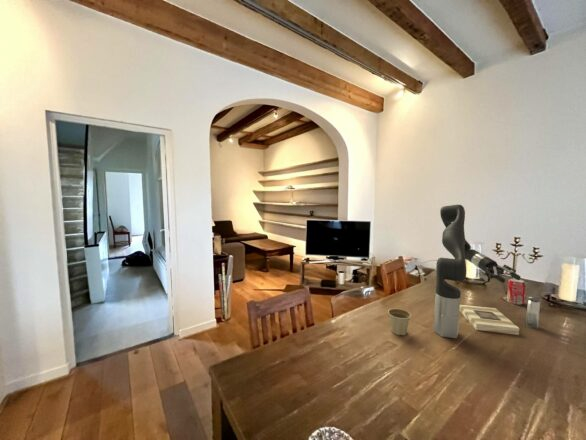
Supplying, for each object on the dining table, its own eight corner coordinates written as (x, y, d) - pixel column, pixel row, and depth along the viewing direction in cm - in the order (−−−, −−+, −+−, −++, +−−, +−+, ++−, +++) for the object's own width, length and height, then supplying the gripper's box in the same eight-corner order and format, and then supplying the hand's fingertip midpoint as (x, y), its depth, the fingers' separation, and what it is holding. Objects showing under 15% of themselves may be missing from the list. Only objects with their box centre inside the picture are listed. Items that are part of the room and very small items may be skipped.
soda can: (527, 305, 137) (529, 282, 135) (514, 305, 137) (516, 282, 136) (516, 300, 144) (517, 278, 142) (503, 299, 144) (505, 278, 143)
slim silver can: (541, 329, 112) (544, 299, 110) (528, 328, 113) (531, 298, 112) (534, 324, 116) (537, 295, 115) (522, 323, 117) (525, 294, 116)
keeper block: (518, 334, 108) (519, 327, 107) (476, 329, 112) (476, 322, 112) (494, 313, 127) (495, 307, 126) (459, 310, 131) (459, 304, 131)
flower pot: (386, 334, 108) (386, 315, 107) (388, 324, 117) (389, 306, 116) (409, 340, 104) (410, 320, 103) (410, 329, 112) (411, 311, 111)
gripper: (473, 258, 135) (501, 275, 120) (496, 254, 136) (526, 271, 121) (470, 270, 138) (497, 288, 123) (493, 266, 139) (522, 283, 124)
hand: (512, 279), depth 122 cm, fingers open, 8 cm apart
